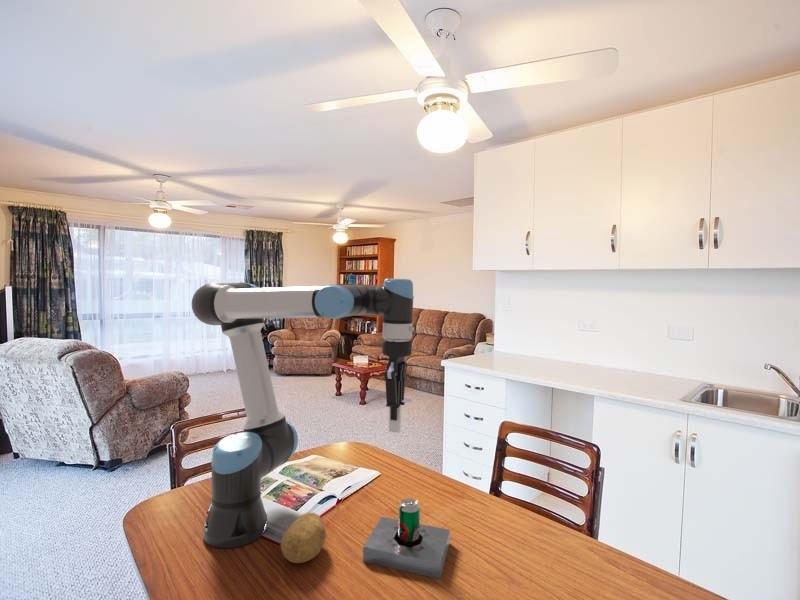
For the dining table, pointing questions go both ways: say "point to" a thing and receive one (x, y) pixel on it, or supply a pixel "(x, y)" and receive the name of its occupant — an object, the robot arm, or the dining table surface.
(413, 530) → the soda can
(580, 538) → the dining table surface
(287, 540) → the potato
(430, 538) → the plate
